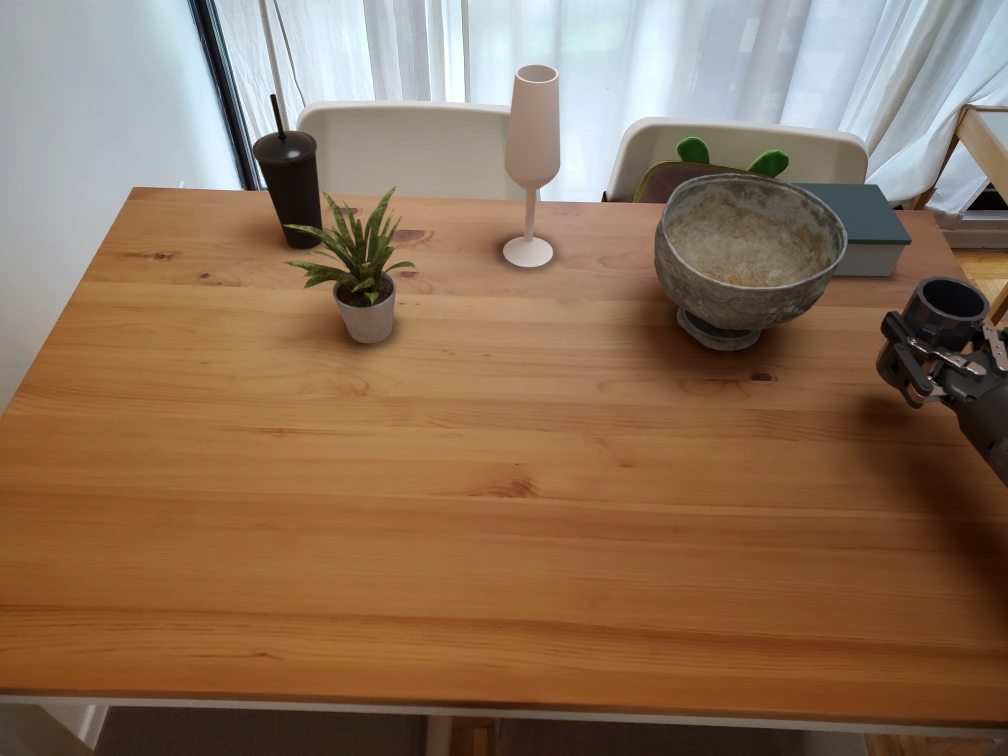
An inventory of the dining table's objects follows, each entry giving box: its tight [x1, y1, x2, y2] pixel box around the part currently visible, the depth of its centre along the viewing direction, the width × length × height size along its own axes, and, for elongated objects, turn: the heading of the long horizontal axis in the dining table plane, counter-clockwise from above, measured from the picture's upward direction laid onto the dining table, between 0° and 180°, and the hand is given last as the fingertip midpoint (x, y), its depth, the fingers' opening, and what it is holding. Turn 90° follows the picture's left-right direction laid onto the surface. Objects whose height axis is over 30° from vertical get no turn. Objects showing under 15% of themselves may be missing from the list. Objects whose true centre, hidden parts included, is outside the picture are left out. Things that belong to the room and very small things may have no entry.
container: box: [789, 182, 913, 277], centre depth 95 cm, size 13×13×6 cm
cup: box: [875, 276, 991, 391], centre depth 70 cm, size 6×6×10 cm
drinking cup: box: [251, 93, 324, 250], centre depth 90 cm, size 8×8×20 cm
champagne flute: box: [502, 63, 561, 268], centre depth 87 cm, size 7×7×24 cm
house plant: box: [282, 186, 419, 344], centre depth 80 cm, size 14×14×16 cm
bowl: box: [653, 172, 847, 352], centre depth 81 cm, size 20×19×15 cm
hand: (919, 313), depth 71 cm, fingers closed on cup, 6 cm apart
